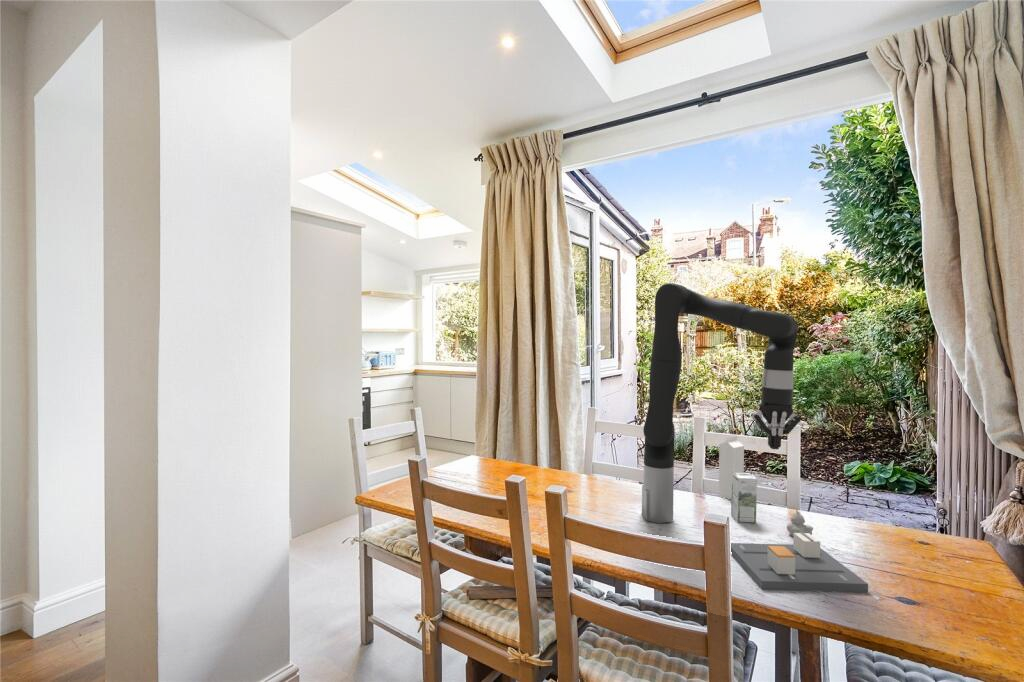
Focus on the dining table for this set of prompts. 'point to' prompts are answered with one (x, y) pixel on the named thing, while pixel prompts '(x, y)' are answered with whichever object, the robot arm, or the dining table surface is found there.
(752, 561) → the fader console
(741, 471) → the milk
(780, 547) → the orange fader cap
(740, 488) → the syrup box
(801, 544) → the cream cap
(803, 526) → the grey figurine
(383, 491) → the dining table surface
